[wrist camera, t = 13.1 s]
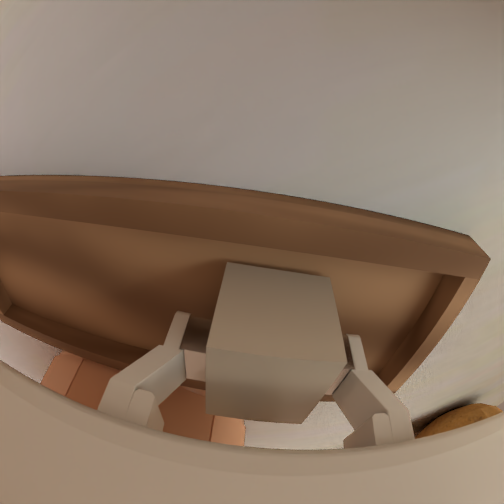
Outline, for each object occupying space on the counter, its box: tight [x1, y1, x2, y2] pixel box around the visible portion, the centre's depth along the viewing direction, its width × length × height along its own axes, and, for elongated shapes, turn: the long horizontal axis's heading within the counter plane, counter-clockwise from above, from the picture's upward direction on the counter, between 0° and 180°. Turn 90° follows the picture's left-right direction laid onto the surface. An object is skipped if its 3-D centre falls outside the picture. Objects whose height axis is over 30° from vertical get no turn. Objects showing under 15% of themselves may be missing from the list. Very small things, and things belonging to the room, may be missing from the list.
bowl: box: [40, 350, 246, 446], centre depth 17 cm, size 17×17×6 cm
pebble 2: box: [206, 262, 347, 424], centre depth 9 cm, size 4×4×4 cm
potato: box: [415, 403, 503, 439], centre depth 17 cm, size 10×14×8 cm
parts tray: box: [0, 175, 490, 401], centre depth 11 cm, size 10×26×2 cm, turn 83°
